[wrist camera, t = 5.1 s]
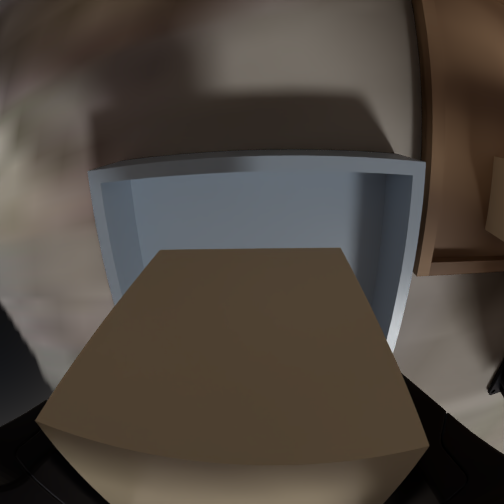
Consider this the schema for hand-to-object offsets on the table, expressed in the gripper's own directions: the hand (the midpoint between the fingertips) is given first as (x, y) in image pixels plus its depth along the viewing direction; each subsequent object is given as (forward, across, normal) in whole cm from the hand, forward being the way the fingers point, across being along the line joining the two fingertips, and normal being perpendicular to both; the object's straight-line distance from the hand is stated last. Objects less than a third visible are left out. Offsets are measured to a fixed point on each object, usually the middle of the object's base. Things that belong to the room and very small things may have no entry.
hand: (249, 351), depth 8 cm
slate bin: (+9, 0, +3) cm, 10 cm away
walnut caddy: (+9, -16, -7) cm, 20 cm away
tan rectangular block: (+1, 0, 0) cm, 1 cm away
